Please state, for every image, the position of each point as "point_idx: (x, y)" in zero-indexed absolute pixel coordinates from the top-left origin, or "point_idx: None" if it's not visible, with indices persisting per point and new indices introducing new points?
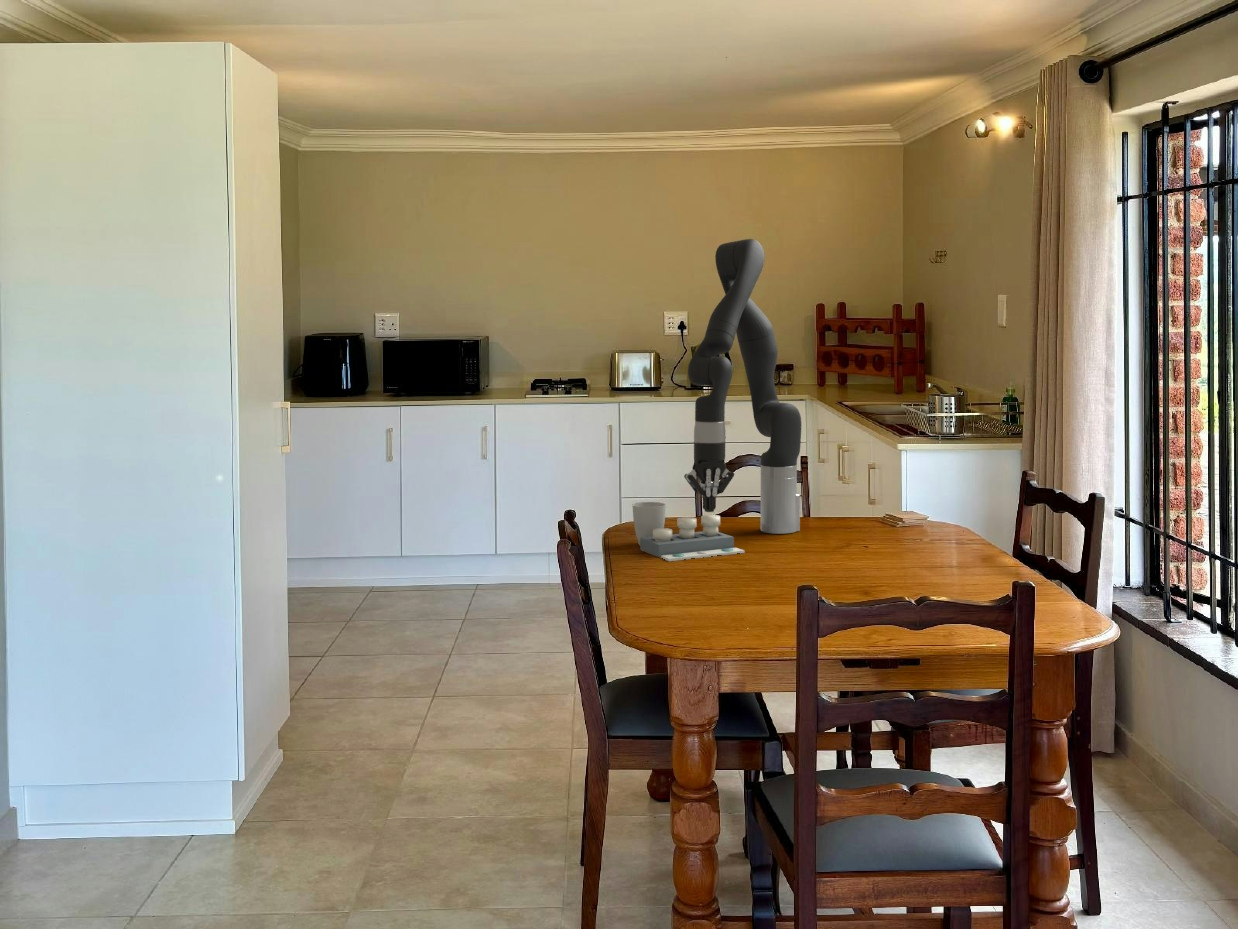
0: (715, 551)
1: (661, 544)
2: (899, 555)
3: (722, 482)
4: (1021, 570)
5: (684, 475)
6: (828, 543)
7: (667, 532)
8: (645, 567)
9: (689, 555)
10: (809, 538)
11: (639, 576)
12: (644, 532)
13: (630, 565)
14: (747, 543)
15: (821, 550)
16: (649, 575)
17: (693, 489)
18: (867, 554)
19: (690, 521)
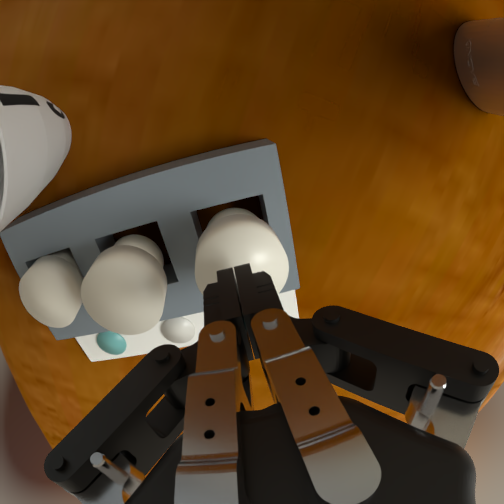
0: None
1: (62, 338)
2: (486, 346)
3: (376, 387)
4: (489, 398)
5: (44, 468)
6: (492, 246)
7: (64, 324)
8: (56, 382)
9: (139, 346)
10: (497, 182)
11: (61, 419)
12: (1, 195)
13: (27, 362)
14: (364, 190)
15: (447, 307)
16: (74, 420)
17: (130, 377)
18: (468, 340)
19: (134, 331)
